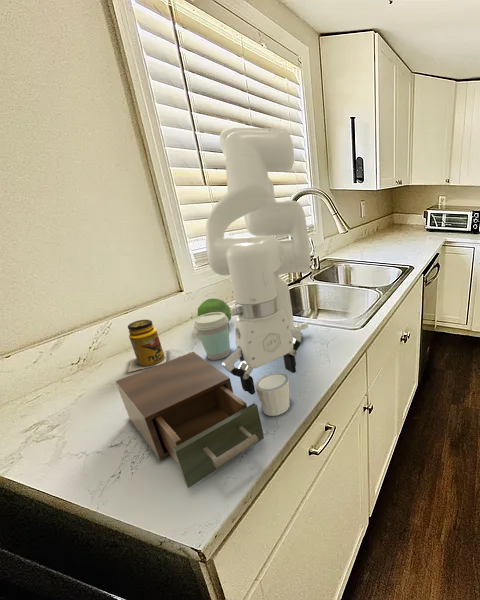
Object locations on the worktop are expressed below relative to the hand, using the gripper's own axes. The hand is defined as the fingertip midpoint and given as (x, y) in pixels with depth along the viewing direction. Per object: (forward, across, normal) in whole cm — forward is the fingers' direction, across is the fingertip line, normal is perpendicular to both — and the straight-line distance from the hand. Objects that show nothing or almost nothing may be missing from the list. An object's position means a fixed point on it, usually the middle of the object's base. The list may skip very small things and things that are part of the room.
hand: (271, 380), depth 70 cm
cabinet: (+7, -14, +14) cm, 21 cm away
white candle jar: (+8, 0, 0) cm, 8 cm away
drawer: (+7, -14, -1) cm, 15 cm away
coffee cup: (+7, +3, +34) cm, 35 cm away
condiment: (+7, -11, +46) cm, 48 cm away
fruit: (+7, +12, +56) cm, 57 cm away
